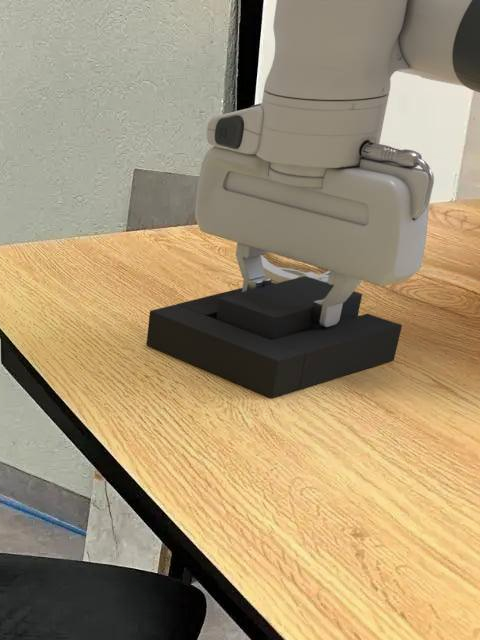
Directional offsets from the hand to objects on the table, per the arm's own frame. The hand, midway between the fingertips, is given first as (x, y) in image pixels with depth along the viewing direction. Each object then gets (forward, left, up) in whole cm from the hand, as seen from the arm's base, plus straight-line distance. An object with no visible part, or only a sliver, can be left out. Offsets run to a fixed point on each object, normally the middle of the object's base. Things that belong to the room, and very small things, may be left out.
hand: (288, 311), depth 94 cm
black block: (0, 0, -2) cm, 2 cm away
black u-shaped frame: (+2, 0, -3) cm, 4 cm away
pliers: (-16, -10, -3) cm, 19 cm away
